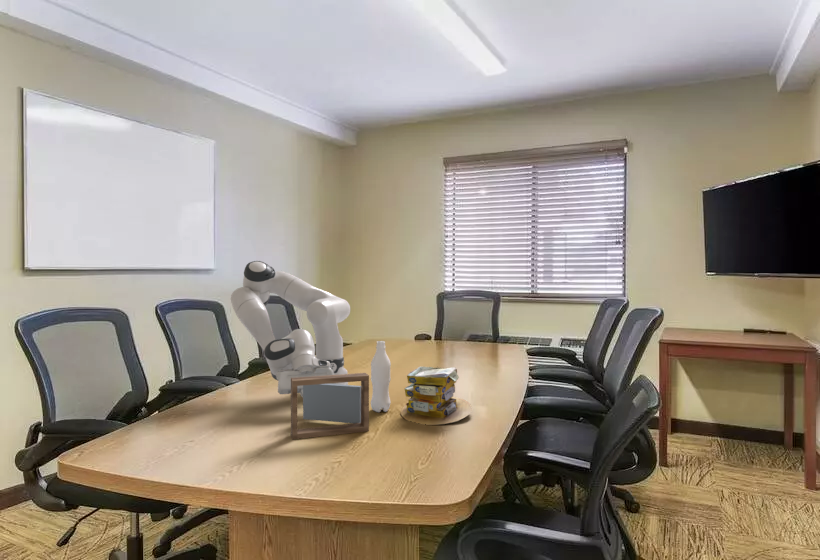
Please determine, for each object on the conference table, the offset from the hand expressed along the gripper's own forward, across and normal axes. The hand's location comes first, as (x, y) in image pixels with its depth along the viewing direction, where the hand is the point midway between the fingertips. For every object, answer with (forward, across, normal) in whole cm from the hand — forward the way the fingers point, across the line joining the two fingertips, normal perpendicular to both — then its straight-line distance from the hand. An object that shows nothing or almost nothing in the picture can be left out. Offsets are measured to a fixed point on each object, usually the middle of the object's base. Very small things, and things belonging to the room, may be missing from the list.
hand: (309, 401), depth 173 cm
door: (+10, +6, -4) cm, 12 cm away
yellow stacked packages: (+12, +43, -4) cm, 44 cm away
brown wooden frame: (+17, +4, -9) cm, 20 cm away
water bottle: (+4, +26, +4) cm, 26 cm away
